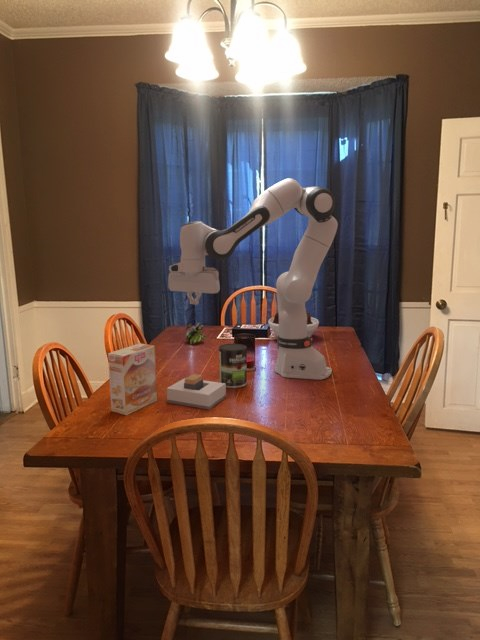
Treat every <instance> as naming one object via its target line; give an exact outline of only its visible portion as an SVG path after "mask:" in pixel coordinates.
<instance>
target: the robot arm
mask: <svg viewBox="0 0 480 640" xmlns="http://www.w3.org/2000/svg"><path fill="white" fill-rule="evenodd" d="M335 204H336V199H335V196H334V194H333V193H332V191H331V190H329V189H328V188H326V187H322V186H306V187H305V186H304V187H302V186H301V184H300V183H299V182H298V181H297V180H296V179H295V178H291V177H290V178H289V177H288V178H285V179H283V180H281V181H278V182H277V183H275V184H273V185H271V186H269V187H268V188H266V189H265V190H264V191H263V192H261V193H260V194H259V195H258V196H257V197H256V198H254V200H253V201H252V203H251V204H250V207H249V208H250V209H249V211H248V212H247V213H246V214H245V215H244V216H243V217H241V218H240V219H239V220H237V221H236V222H235V223H233V224H232V225H231V226H230V227H229V226H228V228H226V229H222V230H219V229H216V228H213V227H211V226H209V225H207V224H205V223H204V222H203V221H201V220H196V221H194V220H193V221H188V222H186V223H184V224H183V225H182V226H181V227H180V235H179V243H180V244H179V246H180V249H181V250H180V251H181V254H180V261H179V262H177V263H174V264H172V265H169V267H168V270H169V273H168V278H167V280H168V282H167V283H168V284H167V285H168V289H169V291H170V292H184V293H186V296H187V298H188V299H189V304H190V305H199V304H200V298H201V296H202V294H212V295H213V294H218V293H219V292H220V290H221V286H220V279H219V277H220V274H219V273H220V272H219V271H218V269H216V268H215V267H213V266H212V267H208V266H206V256H208V257H209V258H211V259H212V260H215V261H224V260H227V259H229V258H230V257H231V256H232V255H233V254H234V251H235V250H236V248H237V246H238V245H239V244H240V243H241V242H243V241H245V239H246V238H248V237H249V236H251V235H252V234H253V233H254V232H256V231H257V230H259V229H260V228H262V227H265V226H266V225H268V224H271V223H273V222H274V221H276V220H278V219H279V218H282V217H283V216H284V215H285V214H287V213H288V212H289V211H291V210H295V211H296V213H298V214H299V215H302V216H303V217H308V224H307V228H306V230H305V231H304V234H303V235H302V238H301V239H300V241H299V243H298V245H297V247H296V249H295V251H294V253H293V257H292V259H291V260H292V261H291V263H290V267H289V270H288V271H284V272H283V273H282V274H280V275H279V276H278V278H277V280H276V284H275V285H276V301H277V302H276V303H277V313H278V314H279V335H278V338H277V342H276V343H277V344H276V345H277V357H276V358H277V359H276V363H275V367H274V372H275V373H276V374H278V375H280V376H281V377H282V378H291V379H303V380H305V379H306V380H324V379H327V378H329V377H330V376H331V375H332V373H333V371H332V368H331V367H329V366H327V360H326V357H325V356H324V355H323V354H322V353H321V352H319V351H318V350H317V348H315V347H313V346H312V344H313V337H310V338H309V337H308V336H307V314H306V313H307V309H306V302H307V301H309V299H310V298H311V296H312V292H313V289H314V286H315V284H316V280H317V276H318V273H319V271H320V268H321V265H322V264H323V261H324V259H325V257H326V256H327V254H328V251H329V250H330V248H331V246H332V243H333V241H334V240H335V239H334V238H335V236H336V234H337V232H338V231H337V230H338V226H339V225H338V224H339V223H338V220H337V219H336V218H335V217H334V213H335ZM193 294H194V295H195V298H194V297H193Z"/></svg>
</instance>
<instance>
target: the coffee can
mask: <svg viewBox="0 0 480 640" xmlns="http://www.w3.org/2000/svg"><path fill="white" fill-rule="evenodd" d="M247 349H248V347H247V346H246V345H245V344H241V343H225V344H220V345H219V346H218V356H219V357H218V358H219V359H218V361H219V363H218V365H219V383H226V389H227V388H229V389H237V388H242V387H245V386H247V385H248V379H247V378H248V374H247V372H248V368H247V365H248V363H247V362H248V361H247V358H248V357H247V352H248V351H247Z"/></svg>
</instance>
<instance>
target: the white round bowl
mask: <svg viewBox="0 0 480 640" xmlns="http://www.w3.org/2000/svg"><path fill="white" fill-rule="evenodd" d="M306 314H307V336H308V337H309V338H310V339H311V338H312V336H313V333H314V332H315V330H316V329H318V326H319V323H320V321H319V319H317V318H316V317H313V316H311V313H310V312H306ZM267 324H268V326H269V328H270V329H271V330H272V331H273V334H274V336H275V337H276V338H277V339H278V335H279V314H278V312H277V313H275V315H274V317H271V318H269V319H268V321H267Z"/></svg>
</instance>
